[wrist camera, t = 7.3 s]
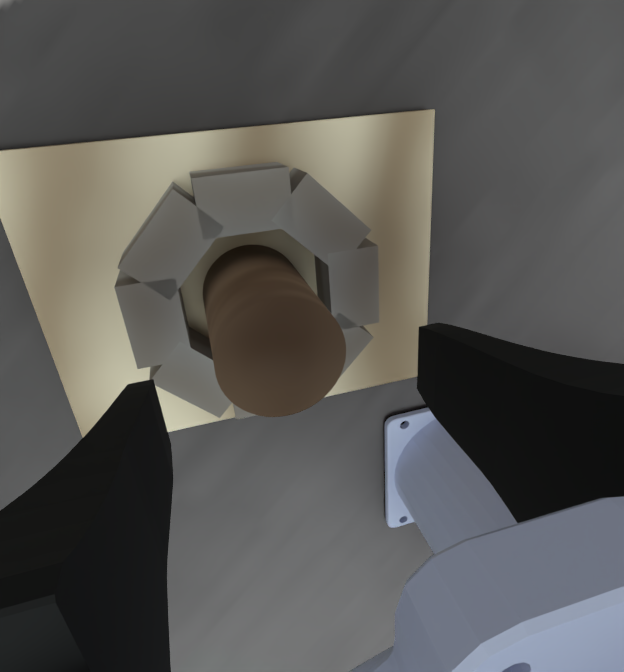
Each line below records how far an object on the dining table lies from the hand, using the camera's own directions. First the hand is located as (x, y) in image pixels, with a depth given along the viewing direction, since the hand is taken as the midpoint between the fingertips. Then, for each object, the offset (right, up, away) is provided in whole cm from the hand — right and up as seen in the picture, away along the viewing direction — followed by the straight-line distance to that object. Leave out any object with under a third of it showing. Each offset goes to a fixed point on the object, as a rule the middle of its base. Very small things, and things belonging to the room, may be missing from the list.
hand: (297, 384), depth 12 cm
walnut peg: (-2, +3, +7) cm, 8 cm away
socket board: (-2, +4, +7) cm, 8 cm away
